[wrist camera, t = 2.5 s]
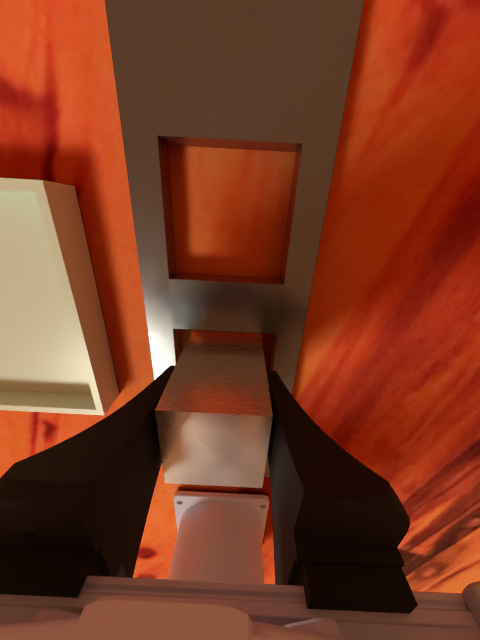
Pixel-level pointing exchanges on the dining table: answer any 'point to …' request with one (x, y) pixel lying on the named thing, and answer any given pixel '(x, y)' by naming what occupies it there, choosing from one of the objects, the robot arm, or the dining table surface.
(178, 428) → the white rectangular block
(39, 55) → the dining table surface
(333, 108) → the metal plate with holes
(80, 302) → the tray
